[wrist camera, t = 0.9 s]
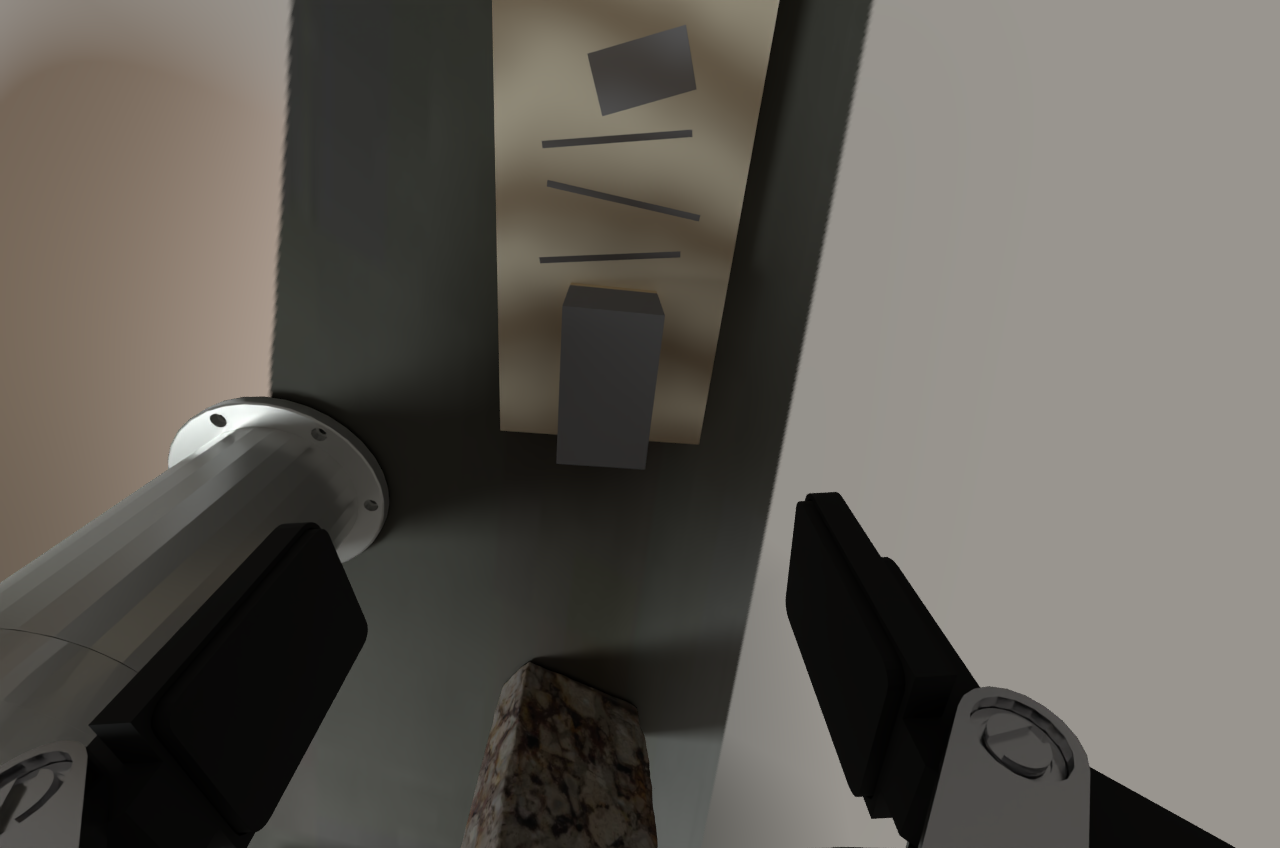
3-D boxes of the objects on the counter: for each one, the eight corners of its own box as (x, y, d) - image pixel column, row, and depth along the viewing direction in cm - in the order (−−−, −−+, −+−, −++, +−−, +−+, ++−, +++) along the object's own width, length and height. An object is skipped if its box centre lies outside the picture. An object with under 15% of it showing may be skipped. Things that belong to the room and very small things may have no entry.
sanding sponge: (640, 425, 30) (644, 469, 26) (564, 419, 30) (556, 463, 25) (656, 291, 27) (664, 315, 22) (570, 282, 26) (562, 305, 22)
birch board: (694, 432, 32) (698, 444, 31) (505, 418, 31) (500, 430, 30) (780, -57, 22) (792, -74, 20) (498, -104, 21) (489, -124, 19)
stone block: (487, 698, 43) (400, 1069, 25) (524, 649, 41) (456, 1022, 23) (619, 742, 47) (624, 1093, 29) (661, 699, 44) (693, 1054, 27)
